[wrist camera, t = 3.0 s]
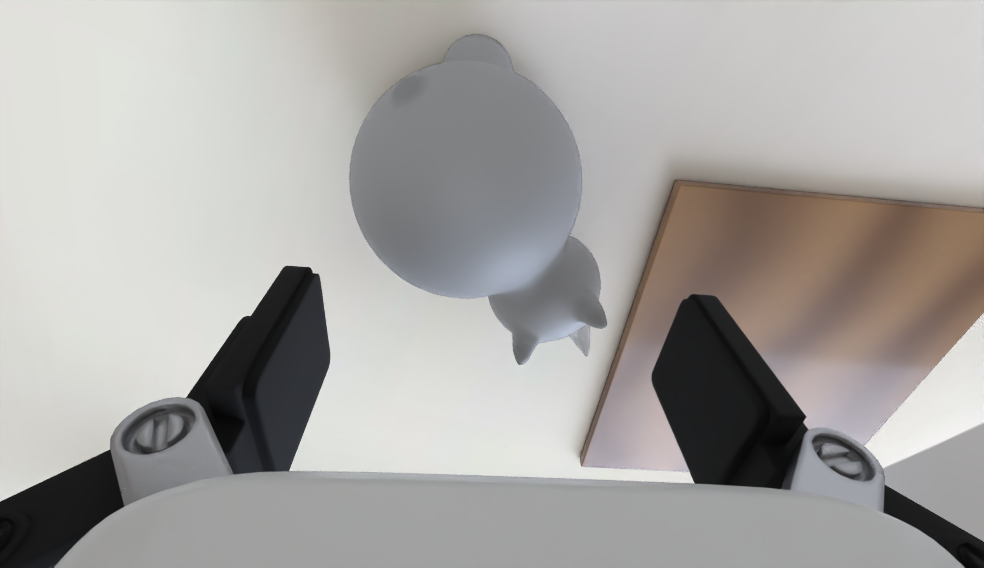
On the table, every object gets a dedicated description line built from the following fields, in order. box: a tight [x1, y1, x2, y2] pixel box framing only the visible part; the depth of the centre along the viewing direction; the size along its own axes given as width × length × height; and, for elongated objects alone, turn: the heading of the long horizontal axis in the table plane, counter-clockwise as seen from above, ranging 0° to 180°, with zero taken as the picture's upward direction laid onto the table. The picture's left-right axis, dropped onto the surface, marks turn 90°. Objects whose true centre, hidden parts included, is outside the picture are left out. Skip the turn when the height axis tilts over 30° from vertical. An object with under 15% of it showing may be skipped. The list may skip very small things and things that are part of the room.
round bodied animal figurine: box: [349, 34, 607, 365], centre depth 16 cm, size 7×12×8 cm, turn 32°
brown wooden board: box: [580, 180, 984, 472], centre depth 26 cm, size 18×20×1 cm
